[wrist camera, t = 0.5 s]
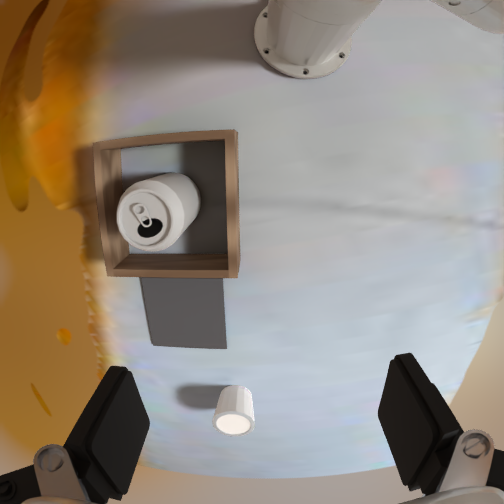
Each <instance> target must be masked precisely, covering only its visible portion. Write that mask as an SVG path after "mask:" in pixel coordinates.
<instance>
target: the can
mask: <svg viewBox="0 0 504 504" xmlns="http://www.w3.org/2000/svg"><path fill="white" fill-rule="evenodd" d="M200 207H201V196H200V192H199V189H198V188H197V186H196V184H195V183H194V182H193V181H192V180H191V179H190V178H189V177H188V176H185V175H183V174H180V173H172V172H170V173H167V174H163V175H159V176H156V177H153V178H150V179H146V180H143V181H140V182H137V183H135V184H133V185H132V186H130V187H129V188H128V189H126V191H125V192H124V194H123V195H122V196H121V198H120V201H119V204H118V207H117V225H118V228H119V231H120V233H121V235H122V236H123V238H124V239H125V240H126V241H127V242H128V243H129V244H130V245H132V246H134V247H136V248H138V249H141V250H144V251H152V252H155V251H160V250H164V249H166V248H167V247H169V246H171V245H173V244H174V242H175V241H176V240H177V239H178V238H179V237H180V235H181V234H182V233H183V232H184V231H185V230H186V228H187V227H188V226H189V225H190V224H191V223H192V222H193V220H194V219H195V218H196V217H197V215H198V213H199V210H200Z"/></svg>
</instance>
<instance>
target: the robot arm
mask: <svg viewBox="0 0 504 504" xmlns="http://www.w3.org/2000/svg"><path fill="white" fill-rule="evenodd" d="M430 1H432V2H434V3H436V4H437V5H439V6H441V7H443V8H445V9H446V10H448V11H450V12H451V13H453V14H455V15H457V16H458V17H460V18H462V19H463V20H465V21H467V22H469V23H470V24H472V25H474V26H476V27H478V28H480V29H482V30H485V31H487V32H491V33H496V34H504V0H430ZM380 2H381V0H268V5H267V6H266V7H265V8H264V9H263V10H262V11H261V13H260V14H259V16H258V18H257V20H256V23H255V28H254V39H255V43H256V47H257V49H258V51H259V53H260V55H261V56H262V57H263V59H264V60H265V61H266V62H267V63H268V64H269V65H270V66H271V67H273V68H274V69H276V70H278V71H279V72H281V73H283V74H286V75H288V76H292V77H295V78H302V79H314V78H320V77H324V76H326V75H329V74H331V73H333V72H334V71H336V70H337V69H338V68H340V67H341V66H342V65H343V64H344V62H345V61H346V60H347V58H348V56H349V53H350V51H351V45H352V38H351V36H352V35H353V33H354V32H355V31H356V30H357V29H358V28H359V27H360V26H361V24H362V23H363V22H364V21H365V20H366V19H367V18H368V17H369V16H370V14H371V13H372V12H373V11H374V10H375V9H376V8H377V6H378V5H379V3H380ZM264 16H267V18H265V17H264ZM266 51H267V52H268V54H265V52H266ZM339 56H342V58H340V57H339ZM304 71H305V72H306V73H307V74H303V72H304ZM378 418H379V421H380V423H381V426H382V428H383V431H384V434H385V436H386V439H387V442H388V444H389V447H390V450H391V452H392V455H393V458H394V461H395V463H396V466H397V469H398V472H399V474H400V477H401V480H402V483H403V485H405V486H406V485H408V488H409V490H410V491H413V490H416V489H420V488H421V491H422V493H423V496H422V497H421V498H417V499H414V500H411V501H407V502H403V503H400V504H504V451H501V450H497V449H494V442H493V439H492V438H491V436H490V435H489V434H487V433H486V432H484V431H481V430H475V429H474V430H468V431H466V432H464V431H463V430H462V428H461V426H460V425H459V423H458V422H457V420H456V418H455V416H454V415H453V413H452V411H451V410H450V408H449V406H448V405H447V403H446V402H445V400H444V398H443V397H442V395H441V394H440V392H439V391H438V389H437V387H436V386H435V385H434V384H433V383H431V382H430V380H429V379H428V377H427V376H426V374H425V373H424V371H423V369H422V368H421V366H420V365H419V363H418V362H417V360H416V359H415V357H414V356H413V354H412V353H405V354H400V355H396V356H395V358H394V359H393V360H391V361H390V365H389V369H388V373H387V378H386V382H385V386H384V390H383V394H382V398H381V401H380V405H379V409H378ZM149 426H150V421H149V418H148V415H147V413H146V410H145V407H144V405H143V402H142V400H141V397H140V394H139V391H138V389H137V386H136V383H135V380H134V377H133V375H132V372H131V371H128V369H127V368H126V367H120V366H110V368H109V369H108V371H107V372H106V374H105V376H104V377H103V379H102V380H101V382H100V384H99V385H98V387H97V389H96V390H95V392H94V394H93V396H92V397H91V399H90V400H89V402H88V404H87V405H86V407H85V409H84V410H83V412H82V414H81V416H80V417H79V419H78V421H77V422H76V424H75V426H74V428H73V430H72V431H71V433H70V435H69V437H68V438H67V440H66V442H65V444H64V446H63V447H62V446H60V445H56V444H50V445H46V446H44V447H42V448H40V449H39V450H38V451H37V453H36V454H35V456H34V459H33V463H34V464H33V465H30V466H28V467H25V468H22V469H19V470H16V471H13V472H10V473H7V474H4V475H1V476H0V504H107V502H108V499H109V498H112V499H116V500H120V501H121V499H122V495H123V494H124V495H125V494H126V493H127V492H128V488H129V486H130V483H131V479H132V476H133V474H134V471H135V467H136V465H137V462H138V459H139V456H140V453H141V450H142V447H143V444H144V441H145V438H146V435H147V433H148V430H149Z"/></svg>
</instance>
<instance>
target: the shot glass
mask: <svg viewBox="0 0 504 504" xmlns="http://www.w3.org/2000/svg"><path fill="white" fill-rule="evenodd" d="M212 423H213V427H214V428H215V429H216V430H217V431H218V432H220V433H222V434H224V435H228V436H243V435H247V434H249V433H250V432H252V431H253V429H254V427H255V422H254V413H253V403H252V394H251V392H250V391H249V390H248V389H247V388H245V387H243V386H239V385H231V386H227V387H225V388H224V389H223V390H222V391H221V393H220V396H219V400H218V403H217V407H216V410H215V414H214V417H213V421H212Z"/></svg>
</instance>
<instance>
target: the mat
mask: <svg viewBox="0 0 504 504" xmlns="http://www.w3.org/2000/svg"><path fill="white" fill-rule="evenodd" d="M141 280H142V286H143V293H144V299H145V305H146V310H147V316H148V321H149V327H150V332H151V337H152V342H153V345H154V346H168V347H185V348H208V349H227V343H226V327H225V310H224V292H223V278H162V277H141Z"/></svg>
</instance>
